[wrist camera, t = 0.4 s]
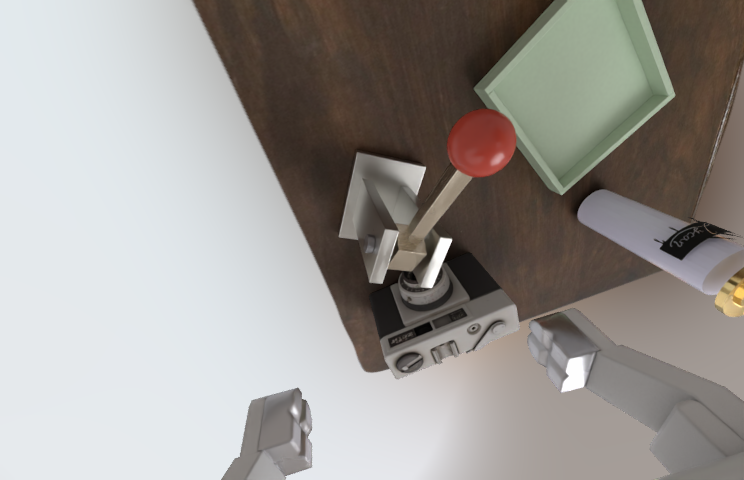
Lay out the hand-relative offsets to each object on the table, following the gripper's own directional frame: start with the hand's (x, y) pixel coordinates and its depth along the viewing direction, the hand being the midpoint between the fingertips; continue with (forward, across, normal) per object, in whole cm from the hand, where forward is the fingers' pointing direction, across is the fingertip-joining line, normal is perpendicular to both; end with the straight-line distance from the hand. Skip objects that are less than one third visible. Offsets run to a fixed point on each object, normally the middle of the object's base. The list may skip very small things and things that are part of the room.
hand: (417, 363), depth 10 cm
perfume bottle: (+22, -27, +12) cm, 37 cm away
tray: (+22, -23, -2) cm, 32 cm away
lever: (+11, -5, -1) cm, 12 cm away
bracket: (+22, -2, +4) cm, 23 cm away
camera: (+22, -5, +15) cm, 27 cm away
